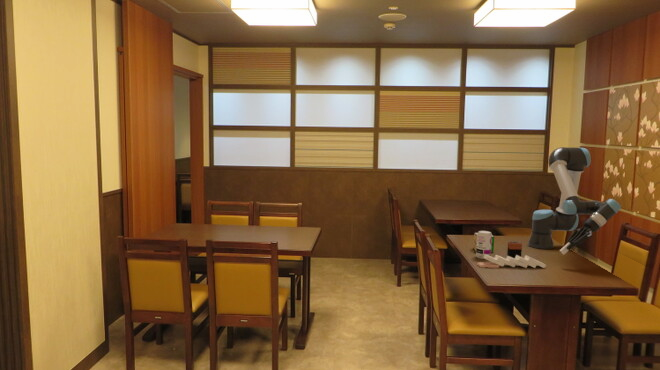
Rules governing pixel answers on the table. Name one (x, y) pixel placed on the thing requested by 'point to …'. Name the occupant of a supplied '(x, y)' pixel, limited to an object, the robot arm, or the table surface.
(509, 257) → the domino
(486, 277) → the table surface
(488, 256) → the domino
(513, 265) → the domino
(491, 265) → the domino
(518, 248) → the battery
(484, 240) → the supplement can
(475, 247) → the puzzle cube
